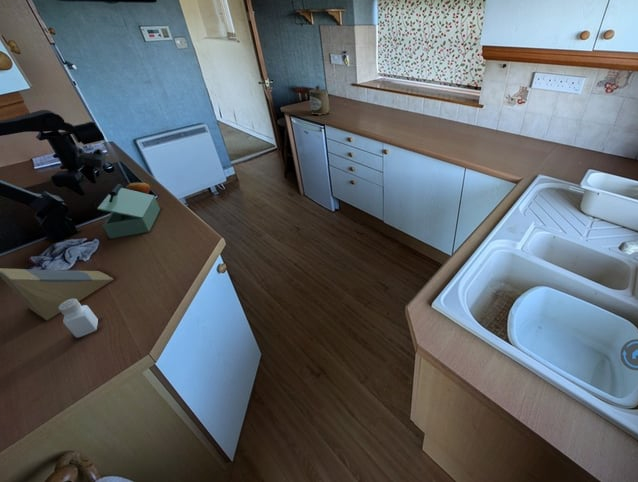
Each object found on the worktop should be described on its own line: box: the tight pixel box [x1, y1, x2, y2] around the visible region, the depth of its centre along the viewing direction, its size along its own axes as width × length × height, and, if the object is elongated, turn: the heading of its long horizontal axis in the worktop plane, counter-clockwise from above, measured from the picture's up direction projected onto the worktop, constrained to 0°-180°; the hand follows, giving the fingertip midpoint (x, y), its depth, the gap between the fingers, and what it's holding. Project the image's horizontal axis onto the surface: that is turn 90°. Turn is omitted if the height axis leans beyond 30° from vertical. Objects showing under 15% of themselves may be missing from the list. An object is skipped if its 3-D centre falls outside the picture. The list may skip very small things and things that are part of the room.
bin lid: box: [96, 183, 155, 218], centre depth 105 cm, size 12×16×5 cm
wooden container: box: [308, 85, 330, 113], centre depth 236 cm, size 15×15×22 cm
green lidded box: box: [102, 196, 161, 239], centre depth 109 cm, size 12×16×6 cm
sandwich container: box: [0, 267, 114, 321], centre depth 78 cm, size 9×15×15 cm, turn 156°
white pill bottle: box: [58, 299, 99, 339], centre depth 70 cm, size 4×4×10 cm
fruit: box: [125, 182, 151, 194], centre depth 124 cm, size 8×8×8 cm
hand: (89, 189), depth 106 cm, fingers open, 9 cm apart
